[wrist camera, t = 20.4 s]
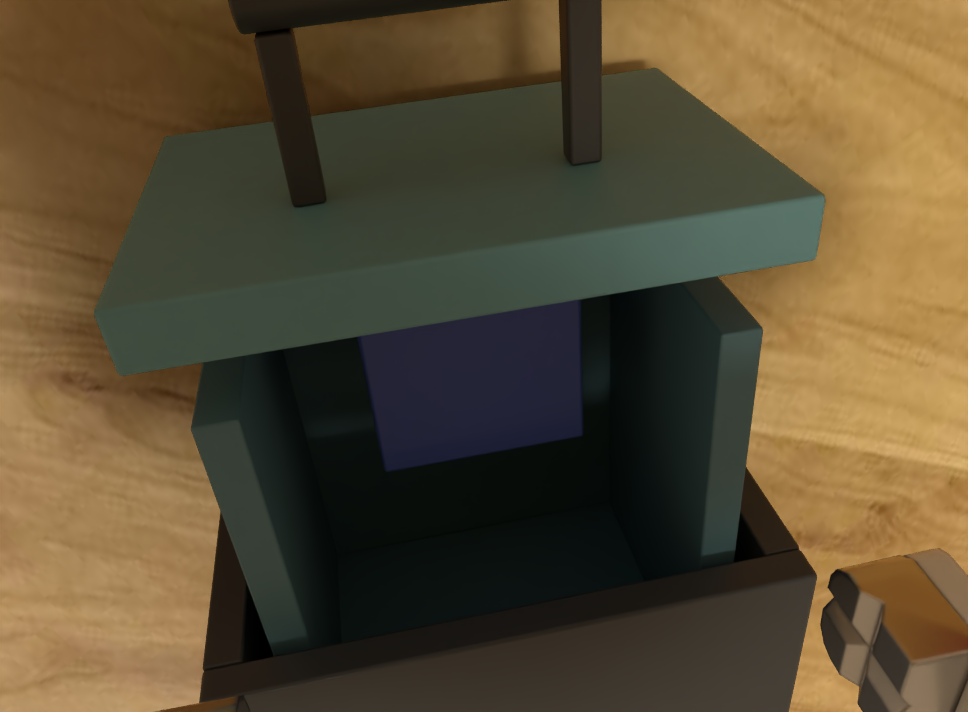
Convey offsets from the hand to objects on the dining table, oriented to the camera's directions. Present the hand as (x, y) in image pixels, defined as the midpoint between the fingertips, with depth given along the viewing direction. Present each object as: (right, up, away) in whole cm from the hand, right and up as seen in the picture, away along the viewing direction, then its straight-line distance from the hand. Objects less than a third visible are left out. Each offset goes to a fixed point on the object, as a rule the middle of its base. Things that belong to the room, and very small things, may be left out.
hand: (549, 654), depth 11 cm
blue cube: (-2, +6, +9) cm, 11 cm away
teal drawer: (-2, +6, +10) cm, 12 cm away
